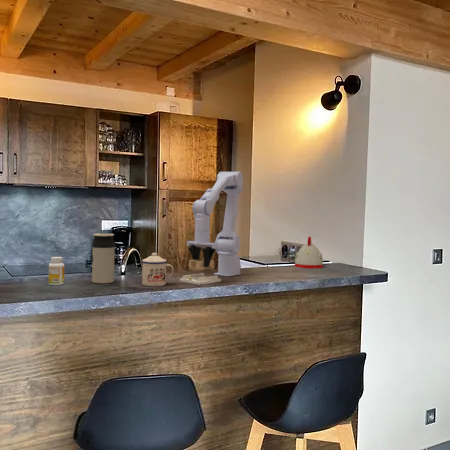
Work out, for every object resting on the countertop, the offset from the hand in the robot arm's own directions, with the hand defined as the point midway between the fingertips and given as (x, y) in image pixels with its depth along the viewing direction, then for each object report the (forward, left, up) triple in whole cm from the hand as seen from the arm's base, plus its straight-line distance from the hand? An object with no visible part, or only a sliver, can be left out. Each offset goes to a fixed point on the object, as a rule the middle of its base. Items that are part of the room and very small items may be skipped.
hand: (201, 265), depth 191 cm
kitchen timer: (-75, +3, -6) cm, 75 cm away
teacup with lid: (+17, -6, -6) cm, 19 cm away
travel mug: (+29, -23, -6) cm, 38 cm away
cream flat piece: (0, 0, -6) cm, 6 cm away
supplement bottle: (+44, -30, -6) cm, 54 cm away
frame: (0, 0, -2) cm, 2 cm away
